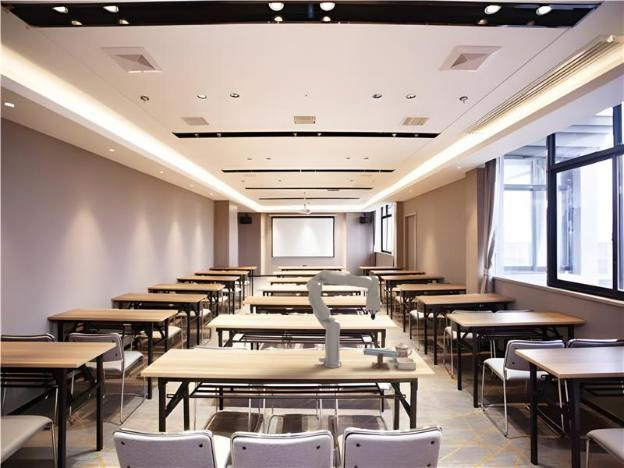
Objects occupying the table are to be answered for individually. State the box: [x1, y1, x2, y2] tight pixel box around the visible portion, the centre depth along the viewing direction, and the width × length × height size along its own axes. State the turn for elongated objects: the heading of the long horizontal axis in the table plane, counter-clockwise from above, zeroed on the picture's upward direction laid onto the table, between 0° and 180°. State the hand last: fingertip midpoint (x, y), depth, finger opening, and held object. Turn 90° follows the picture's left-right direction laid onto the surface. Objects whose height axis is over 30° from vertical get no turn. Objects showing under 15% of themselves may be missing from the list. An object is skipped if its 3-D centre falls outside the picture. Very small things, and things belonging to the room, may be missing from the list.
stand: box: [371, 354, 390, 370], centre depth 244 cm, size 10×11×10 cm
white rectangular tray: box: [395, 357, 417, 371], centre depth 242 cm, size 11×9×4 cm
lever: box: [362, 347, 397, 359], centre depth 247 cm, size 22×13×3 cm, turn 84°
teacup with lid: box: [394, 341, 413, 358], centre depth 258 cm, size 12×9×12 cm
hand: (372, 319), depth 256 cm, fingers closed
